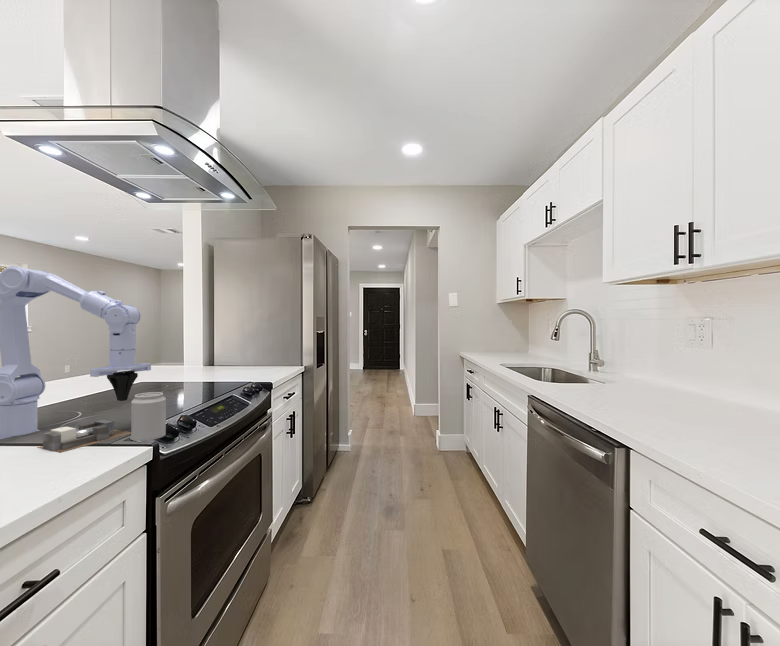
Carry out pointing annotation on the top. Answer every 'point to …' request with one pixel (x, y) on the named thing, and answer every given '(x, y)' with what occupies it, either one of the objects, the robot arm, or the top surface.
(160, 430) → the can
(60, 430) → the spacer
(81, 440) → the bearing bench
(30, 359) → the robot arm
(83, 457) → the top surface
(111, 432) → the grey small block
